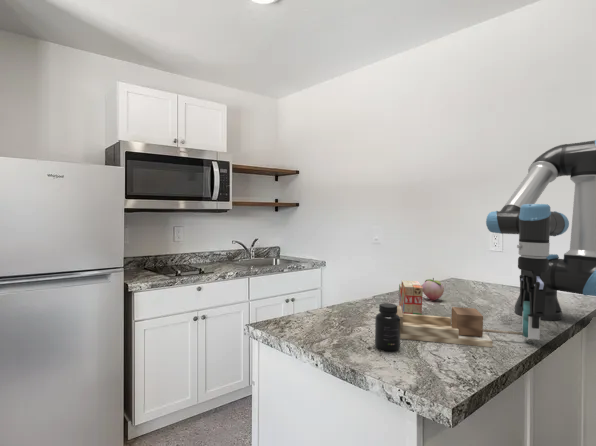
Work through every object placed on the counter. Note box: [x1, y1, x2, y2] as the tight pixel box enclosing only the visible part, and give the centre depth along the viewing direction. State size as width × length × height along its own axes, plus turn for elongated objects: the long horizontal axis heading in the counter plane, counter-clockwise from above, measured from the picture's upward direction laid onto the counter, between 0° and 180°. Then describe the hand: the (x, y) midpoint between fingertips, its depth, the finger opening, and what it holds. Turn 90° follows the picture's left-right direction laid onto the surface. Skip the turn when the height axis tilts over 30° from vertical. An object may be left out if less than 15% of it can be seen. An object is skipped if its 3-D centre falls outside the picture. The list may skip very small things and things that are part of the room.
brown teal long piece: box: [450, 301, 530, 339], centre depth 109 cm, size 23×9×10 cm, turn 77°
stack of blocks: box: [398, 279, 424, 315], centre depth 137 cm, size 21×6×12 cm, turn 169°
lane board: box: [396, 305, 494, 348], centre depth 112 cm, size 26×14×6 cm, turn 77°
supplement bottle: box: [374, 302, 401, 353], centre depth 100 cm, size 7×7×12 cm
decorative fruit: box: [421, 277, 445, 301], centre depth 159 cm, size 9×8×10 cm
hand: (530, 335), depth 107 cm, fingers closed on brown teal long piece, 4 cm apart
